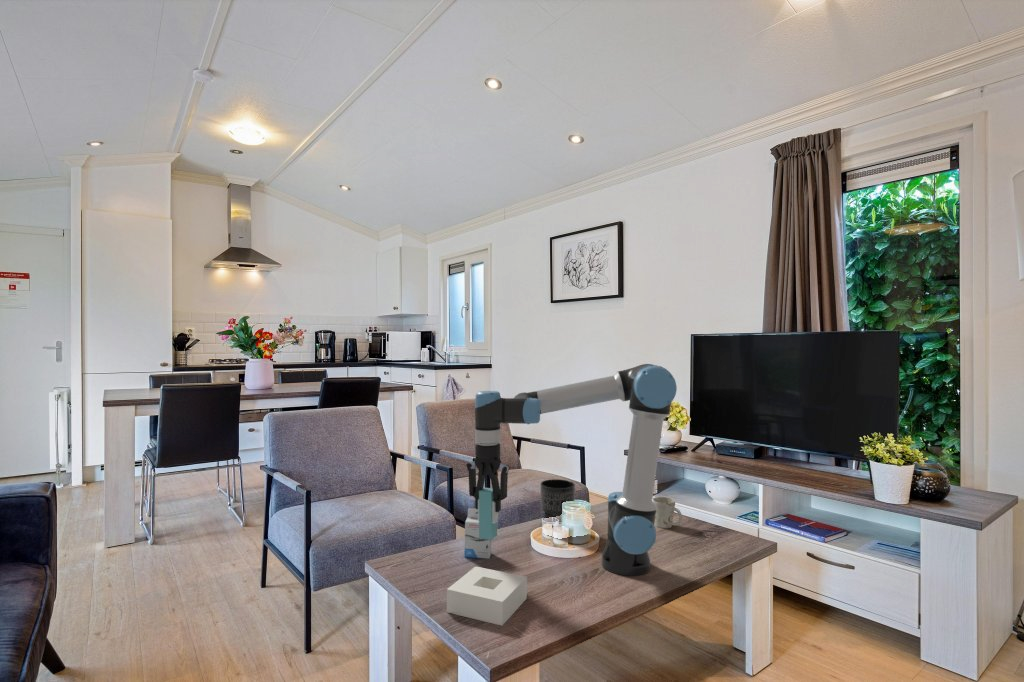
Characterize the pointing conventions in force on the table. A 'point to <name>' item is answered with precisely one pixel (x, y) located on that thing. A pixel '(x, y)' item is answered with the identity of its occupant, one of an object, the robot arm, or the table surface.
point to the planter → (555, 496)
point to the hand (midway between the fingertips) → (488, 521)
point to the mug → (665, 512)
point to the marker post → (486, 515)
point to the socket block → (487, 595)
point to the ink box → (475, 538)
